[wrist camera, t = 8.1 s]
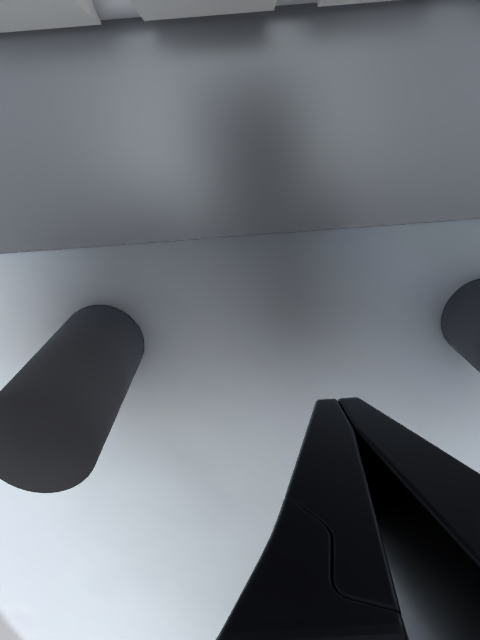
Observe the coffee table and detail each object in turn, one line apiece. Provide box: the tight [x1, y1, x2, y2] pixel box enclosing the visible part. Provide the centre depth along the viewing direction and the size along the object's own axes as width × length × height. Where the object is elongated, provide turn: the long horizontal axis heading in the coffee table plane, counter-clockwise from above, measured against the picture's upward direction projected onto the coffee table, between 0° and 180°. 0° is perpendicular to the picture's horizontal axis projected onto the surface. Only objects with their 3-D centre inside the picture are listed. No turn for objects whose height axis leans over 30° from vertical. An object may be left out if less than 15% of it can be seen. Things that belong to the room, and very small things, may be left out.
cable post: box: [0, 305, 144, 493], centre depth 14 cm, size 3×3×6 cm
